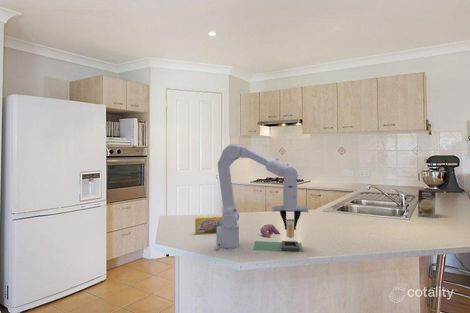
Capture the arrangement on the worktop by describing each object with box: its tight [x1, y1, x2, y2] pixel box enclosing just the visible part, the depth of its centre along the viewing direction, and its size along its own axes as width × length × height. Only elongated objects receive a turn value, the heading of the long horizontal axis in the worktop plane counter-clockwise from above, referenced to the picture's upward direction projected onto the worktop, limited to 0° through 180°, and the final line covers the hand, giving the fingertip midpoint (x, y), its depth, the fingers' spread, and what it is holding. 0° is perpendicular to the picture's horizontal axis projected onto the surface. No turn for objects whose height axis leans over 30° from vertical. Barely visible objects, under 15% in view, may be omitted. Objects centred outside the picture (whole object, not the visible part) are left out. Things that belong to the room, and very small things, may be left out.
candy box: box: [194, 216, 222, 235], centre depth 154 cm, size 16×2×8 cm, turn 101°
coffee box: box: [417, 189, 436, 219], centre depth 190 cm, size 9×6×16 cm
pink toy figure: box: [259, 223, 281, 239], centre depth 147 cm, size 10×5×7 cm, turn 141°
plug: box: [286, 218, 295, 239], centre depth 126 cm, size 3×5×6 cm, turn 172°
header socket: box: [281, 240, 300, 253], centre depth 127 cm, size 7×9×2 cm
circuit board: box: [252, 240, 304, 253], centre depth 130 cm, size 20×12×1 cm, turn 82°
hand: (290, 229), depth 127 cm, fingers closed on plug, 3 cm apart
